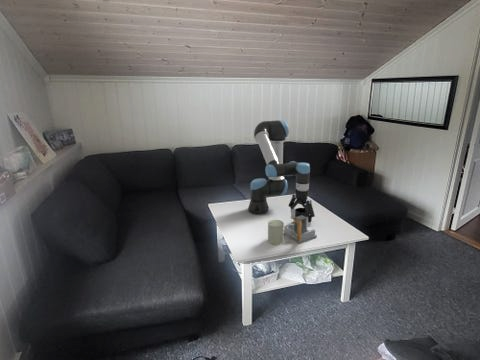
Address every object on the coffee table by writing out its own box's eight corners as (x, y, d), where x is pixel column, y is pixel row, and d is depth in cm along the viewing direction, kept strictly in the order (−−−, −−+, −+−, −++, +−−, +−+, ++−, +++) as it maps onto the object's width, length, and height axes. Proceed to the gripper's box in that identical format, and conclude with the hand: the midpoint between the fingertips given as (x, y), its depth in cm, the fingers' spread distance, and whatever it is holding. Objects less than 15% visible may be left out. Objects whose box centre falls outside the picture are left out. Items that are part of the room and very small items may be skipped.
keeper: (281, 232, 183) (282, 212, 179) (298, 227, 190) (299, 207, 186) (299, 243, 170) (299, 222, 166) (316, 237, 177) (318, 216, 173)
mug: (314, 225, 192) (315, 212, 190) (296, 226, 191) (297, 213, 188) (309, 219, 201) (310, 206, 199) (292, 220, 200) (293, 208, 197)
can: (266, 237, 178) (266, 219, 174) (281, 236, 178) (281, 218, 175) (269, 245, 169) (269, 226, 165) (284, 244, 170) (285, 225, 166)
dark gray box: (293, 232, 180) (294, 217, 177) (301, 229, 183) (301, 215, 180) (299, 235, 176) (299, 220, 173) (306, 232, 179) (307, 217, 176)
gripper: (283, 184, 180) (282, 216, 187) (312, 196, 160) (310, 232, 166) (292, 182, 184) (291, 213, 190) (322, 194, 163) (320, 228, 170)
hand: (300, 222), depth 178 cm, fingers open, 13 cm apart
